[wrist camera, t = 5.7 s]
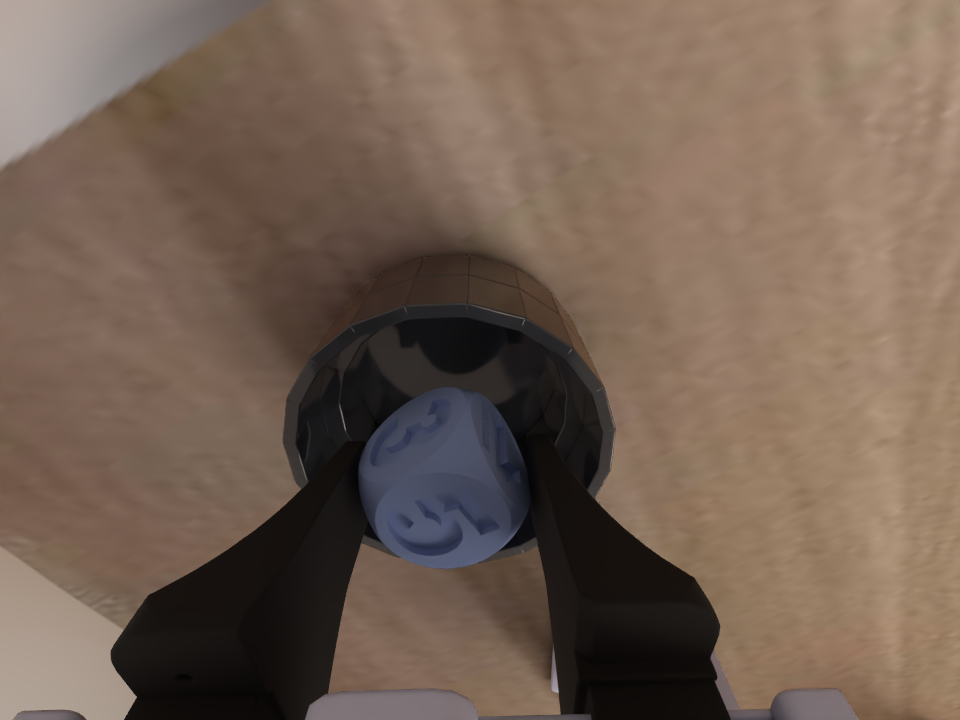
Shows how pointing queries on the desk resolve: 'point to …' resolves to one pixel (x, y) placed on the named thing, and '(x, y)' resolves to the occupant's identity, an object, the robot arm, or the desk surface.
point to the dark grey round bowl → (452, 369)
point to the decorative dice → (444, 480)
